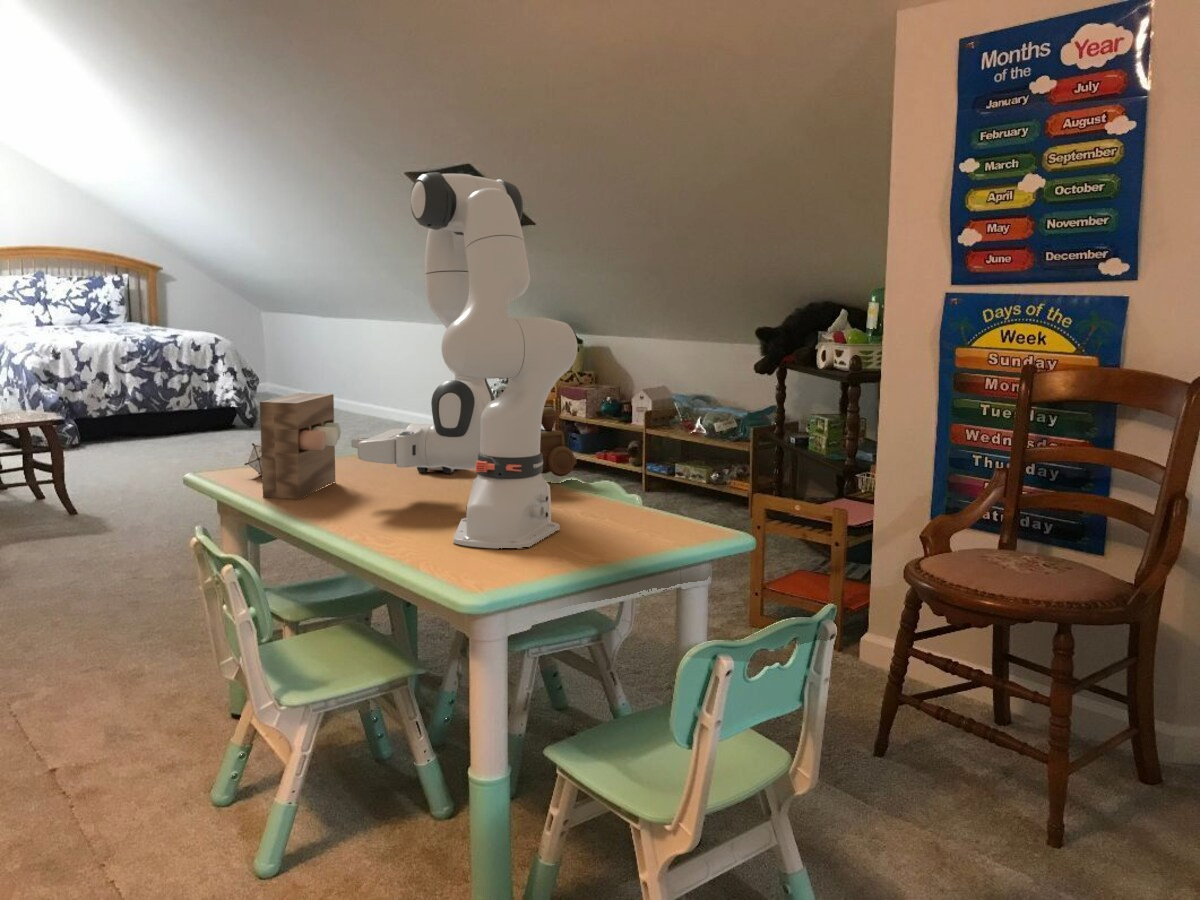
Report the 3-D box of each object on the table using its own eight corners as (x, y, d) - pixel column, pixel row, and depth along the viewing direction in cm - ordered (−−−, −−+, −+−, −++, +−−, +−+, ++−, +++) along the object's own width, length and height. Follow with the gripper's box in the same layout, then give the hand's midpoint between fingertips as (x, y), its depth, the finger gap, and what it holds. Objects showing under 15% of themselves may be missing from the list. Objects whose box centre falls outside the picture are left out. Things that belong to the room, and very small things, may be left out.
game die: (267, 490, 229) (277, 452, 233) (288, 481, 224) (298, 443, 228) (233, 475, 223) (244, 436, 227) (254, 466, 218) (265, 427, 222)
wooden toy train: (502, 485, 217) (496, 411, 215) (482, 481, 227) (476, 410, 225) (581, 474, 227) (576, 402, 225) (559, 470, 237) (553, 402, 235)
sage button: (340, 439, 218) (340, 421, 217) (333, 442, 214) (332, 424, 213) (315, 438, 219) (314, 420, 218) (307, 441, 215) (306, 423, 214)
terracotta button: (326, 448, 206) (326, 429, 205) (318, 451, 202) (317, 432, 201) (299, 447, 207) (299, 428, 206) (290, 450, 203) (290, 431, 202)
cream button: (338, 444, 212) (338, 426, 211) (330, 447, 208) (330, 428, 207) (312, 443, 212) (311, 424, 212) (303, 445, 209) (303, 427, 208)
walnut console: (335, 482, 221) (333, 394, 217) (299, 499, 203) (296, 403, 200) (301, 480, 222) (299, 392, 218) (263, 497, 204) (259, 401, 201)
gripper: (434, 423, 210) (373, 420, 212) (400, 437, 190) (333, 434, 192) (434, 452, 211) (373, 449, 213) (401, 469, 191) (334, 465, 193)
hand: (354, 442), depth 202 cm, fingers closed
